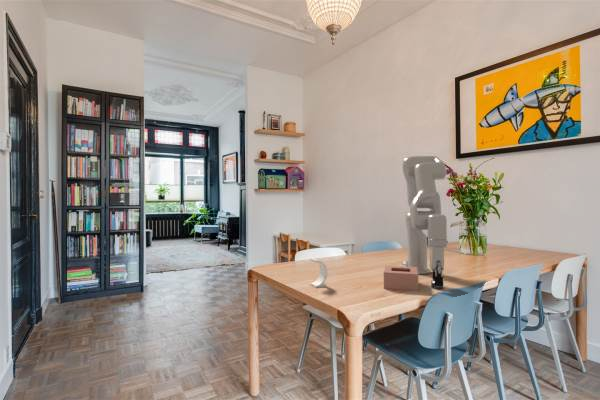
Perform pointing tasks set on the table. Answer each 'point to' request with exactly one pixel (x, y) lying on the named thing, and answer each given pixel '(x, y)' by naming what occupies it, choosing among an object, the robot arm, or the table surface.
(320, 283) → the headphone stand
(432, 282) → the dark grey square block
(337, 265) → the table surface
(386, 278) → the coin box
